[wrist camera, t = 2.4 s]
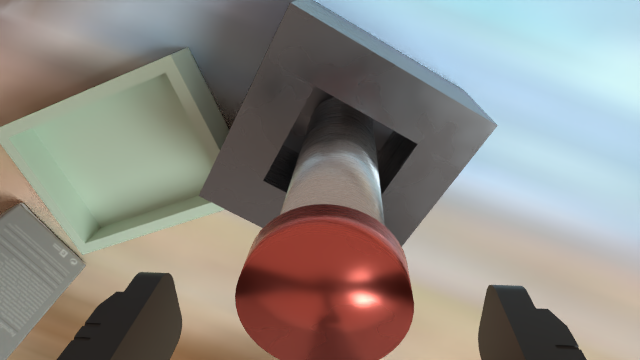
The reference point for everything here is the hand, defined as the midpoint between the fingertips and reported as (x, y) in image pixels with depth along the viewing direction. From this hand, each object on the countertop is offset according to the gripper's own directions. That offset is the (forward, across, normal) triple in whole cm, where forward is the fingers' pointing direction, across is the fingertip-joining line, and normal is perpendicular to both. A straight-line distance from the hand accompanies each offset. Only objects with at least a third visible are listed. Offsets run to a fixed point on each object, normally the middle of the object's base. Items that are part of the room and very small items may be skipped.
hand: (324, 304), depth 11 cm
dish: (+15, +13, +2) cm, 20 cm away
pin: (+14, 0, 0) cm, 14 cm away
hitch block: (+15, 0, 0) cm, 15 cm away
